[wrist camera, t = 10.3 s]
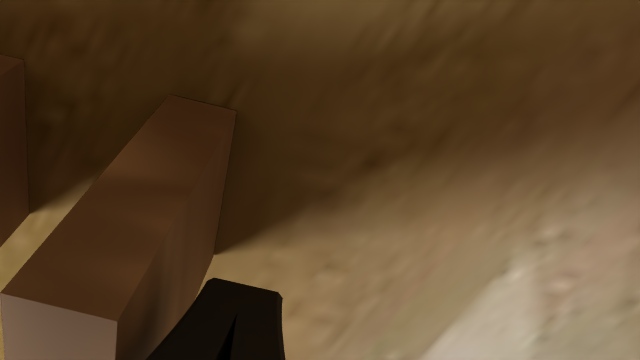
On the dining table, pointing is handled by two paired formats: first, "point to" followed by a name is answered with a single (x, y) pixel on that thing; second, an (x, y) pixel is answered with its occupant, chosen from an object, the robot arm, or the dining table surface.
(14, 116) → the walnut domino
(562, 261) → the dining table surface
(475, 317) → the dining table surface
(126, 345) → the walnut domino
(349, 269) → the dining table surface
